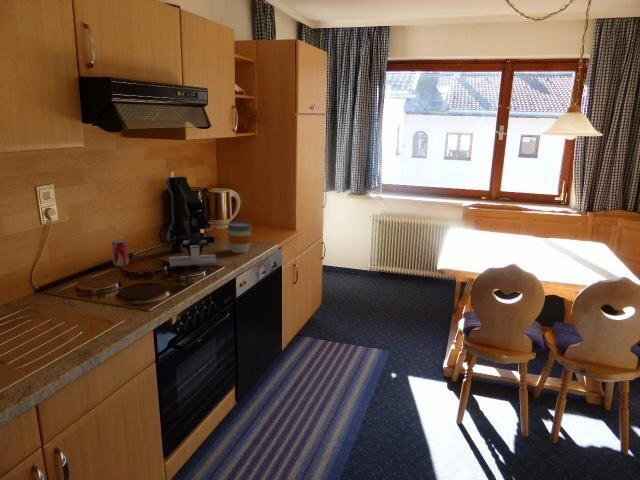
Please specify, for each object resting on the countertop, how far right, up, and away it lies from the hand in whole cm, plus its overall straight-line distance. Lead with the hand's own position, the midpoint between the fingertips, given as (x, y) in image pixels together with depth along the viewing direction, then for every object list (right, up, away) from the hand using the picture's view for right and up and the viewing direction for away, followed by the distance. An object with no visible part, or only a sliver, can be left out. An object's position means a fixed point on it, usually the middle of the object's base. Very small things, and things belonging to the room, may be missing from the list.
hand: (194, 256), depth 230 cm
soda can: (-34, -4, -5) cm, 35 cm away
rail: (-1, -4, +1) cm, 4 cm away
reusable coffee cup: (+17, +2, +27) cm, 32 cm away
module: (0, -1, 0) cm, 1 cm away
